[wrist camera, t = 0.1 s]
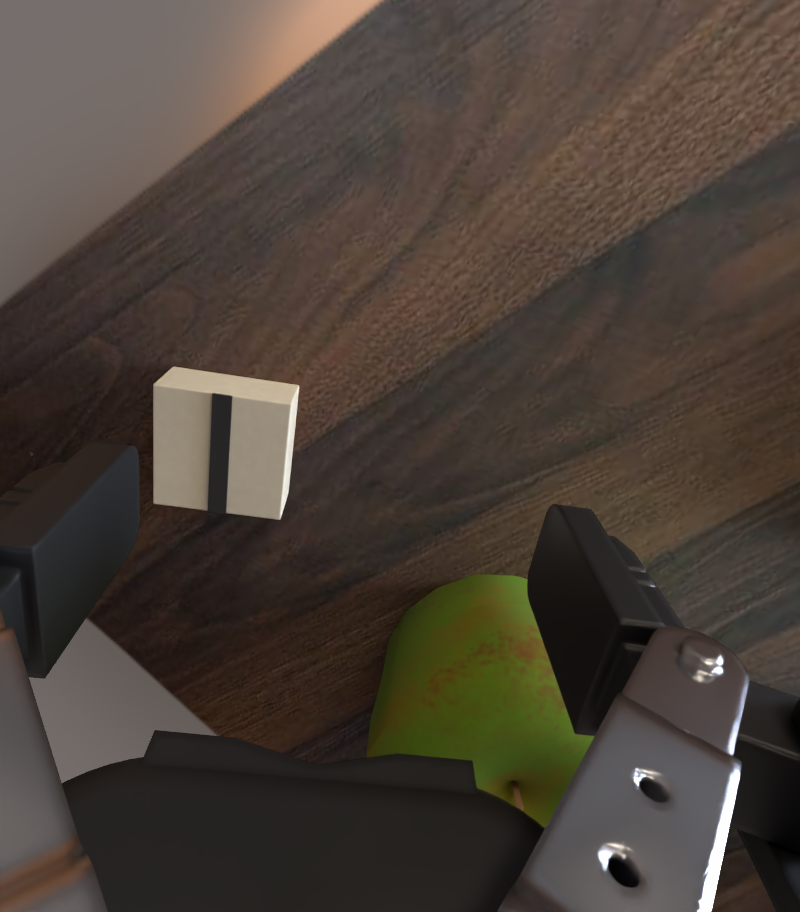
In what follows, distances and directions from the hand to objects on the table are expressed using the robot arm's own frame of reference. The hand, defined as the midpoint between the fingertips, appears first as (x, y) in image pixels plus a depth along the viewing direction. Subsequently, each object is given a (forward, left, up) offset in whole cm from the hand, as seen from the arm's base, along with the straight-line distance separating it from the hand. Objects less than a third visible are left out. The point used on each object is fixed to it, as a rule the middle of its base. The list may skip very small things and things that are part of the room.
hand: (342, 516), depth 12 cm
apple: (+16, +9, -16) cm, 24 cm away
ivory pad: (+6, -5, -16) cm, 18 cm away
